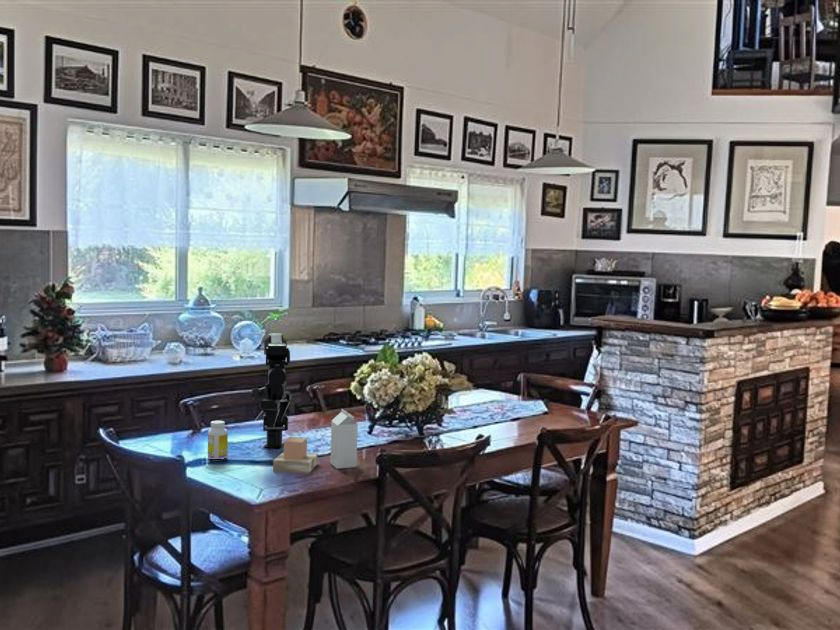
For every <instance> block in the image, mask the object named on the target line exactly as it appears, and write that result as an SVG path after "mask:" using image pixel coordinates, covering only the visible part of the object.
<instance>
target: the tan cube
mask: <svg viewBox="0 0 840 630" xmlns="http://www.w3.org/2000/svg"><path fill="white" fill-rule="evenodd" d="M283 443H284V446H283V452H284V459H293V460H302V459H303V458H304V457H305V456H307V453H308V450H307V449H308V438H307V437H297V436H289V437H288V438H287V439H284V441H283Z"/></svg>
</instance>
